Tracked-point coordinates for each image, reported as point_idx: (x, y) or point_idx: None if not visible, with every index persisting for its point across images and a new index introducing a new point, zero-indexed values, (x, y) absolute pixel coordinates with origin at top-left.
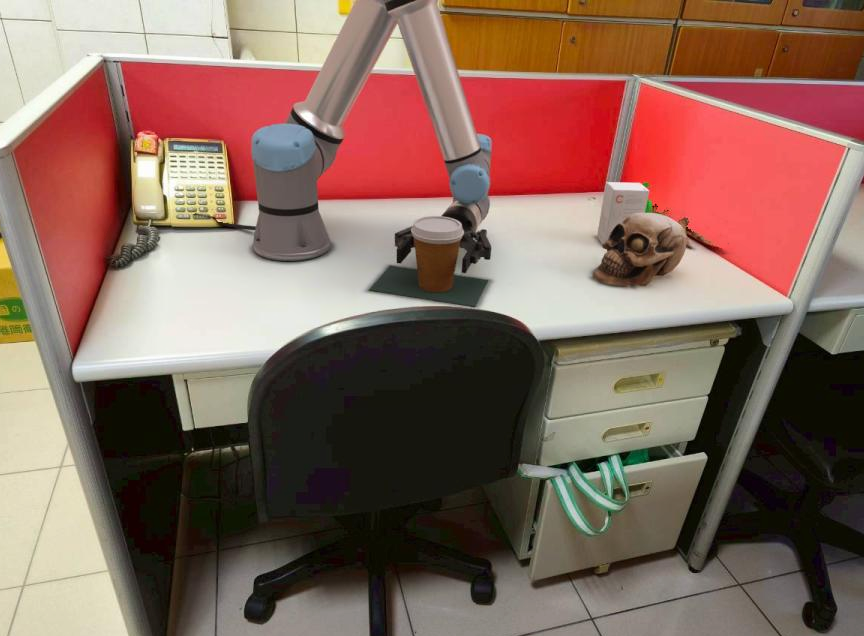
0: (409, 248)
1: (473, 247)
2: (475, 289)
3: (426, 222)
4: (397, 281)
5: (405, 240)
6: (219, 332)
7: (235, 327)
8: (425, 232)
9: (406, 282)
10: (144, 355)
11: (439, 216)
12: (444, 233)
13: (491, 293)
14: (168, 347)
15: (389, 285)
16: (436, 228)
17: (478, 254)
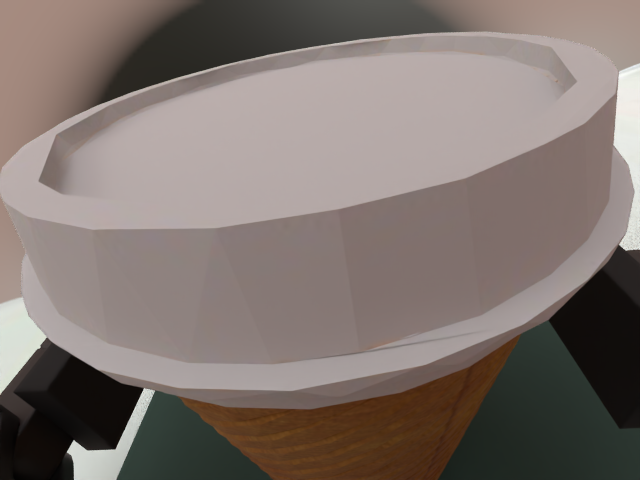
0: (598, 353)
1: (36, 365)
2: (161, 456)
3: (451, 94)
4: (551, 392)
5: (635, 269)
6: (625, 107)
7: (625, 117)
8: (350, 55)
9: (503, 397)
10: (627, 76)
11: (358, 197)
12: (228, 74)
13: (92, 456)
14: (628, 85)
15: (545, 341)
16: (296, 84)
17: (41, 352)
